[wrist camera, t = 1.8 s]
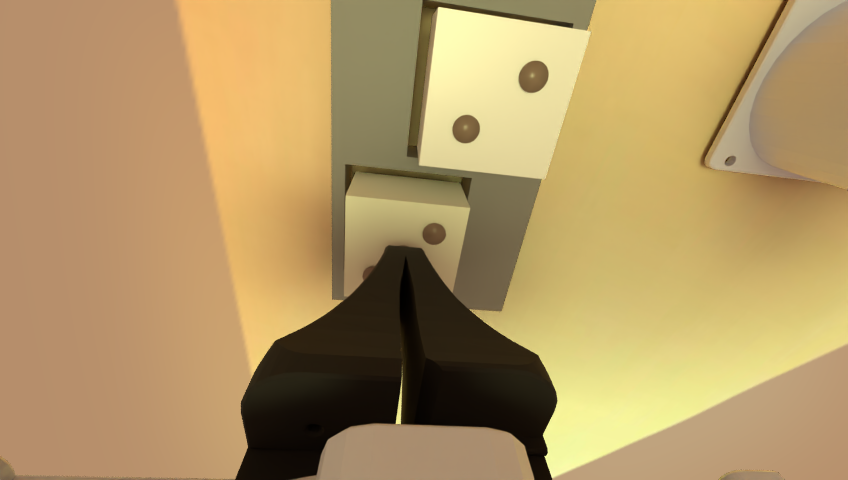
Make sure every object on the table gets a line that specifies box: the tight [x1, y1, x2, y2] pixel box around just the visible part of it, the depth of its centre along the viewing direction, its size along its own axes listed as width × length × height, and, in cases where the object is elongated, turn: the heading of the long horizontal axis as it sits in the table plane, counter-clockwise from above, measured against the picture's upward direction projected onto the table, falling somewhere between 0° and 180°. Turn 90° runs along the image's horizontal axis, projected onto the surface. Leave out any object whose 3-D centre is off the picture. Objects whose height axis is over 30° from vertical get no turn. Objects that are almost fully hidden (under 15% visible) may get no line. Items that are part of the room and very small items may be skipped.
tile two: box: [417, 7, 591, 179], centre depth 12 cm, size 5×5×3 cm
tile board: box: [331, 0, 596, 311], centre depth 14 cm, size 9×21×2 cm, turn 173°
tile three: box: [344, 172, 470, 297], centre depth 15 cm, size 5×5×3 cm
